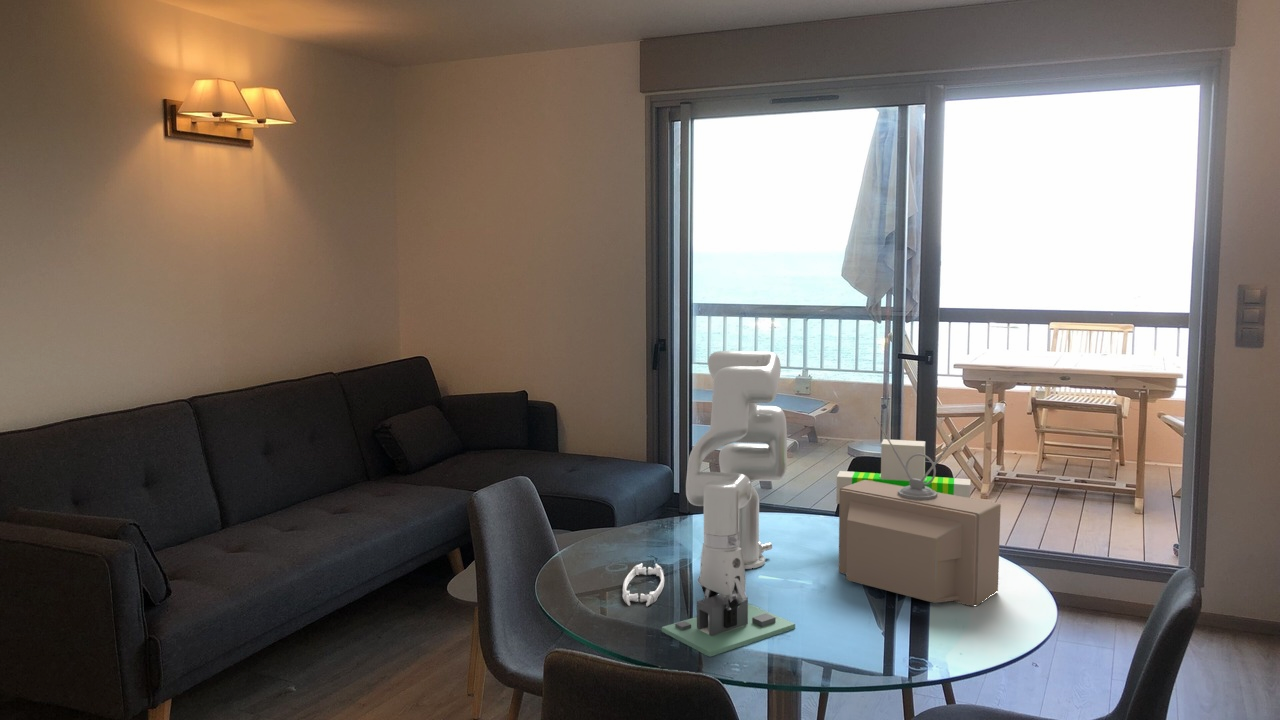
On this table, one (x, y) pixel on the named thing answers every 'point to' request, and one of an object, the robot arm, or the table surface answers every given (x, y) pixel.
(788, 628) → the board
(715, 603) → the block
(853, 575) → the television
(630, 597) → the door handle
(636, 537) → the table surface
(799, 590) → the table surface
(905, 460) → the toy
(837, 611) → the table surface
